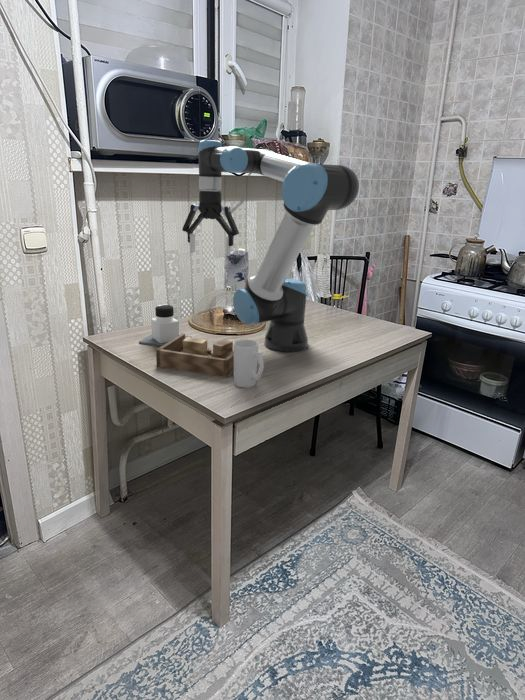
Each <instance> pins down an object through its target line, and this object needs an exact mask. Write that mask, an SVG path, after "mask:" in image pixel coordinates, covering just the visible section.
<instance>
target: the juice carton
mask: <svg viewBox="0 0 525 700" xmlns="http://www.w3.org/2000/svg"><path fill="white" fill-rule="evenodd" d="M224 255H225V256H224V274H223V276H224V281H223V282H224V285H223V286H224V289H225V288H226V287H227V286H230V287H231V290H232V291H237V290H238V289H240V288H245V287H246V285H247V283H248V281H249V251H247V250H246V249H244V248H238V249H237V250H232V249H231V255H229V256H226V253H225V254H224ZM224 289H223V290H224Z"/></svg>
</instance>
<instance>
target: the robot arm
mask: <svg viewBox="0 0 525 700" xmlns="http://www.w3.org/2000/svg"><path fill="white" fill-rule="evenodd" d="M197 155H198V189H200V190H199V192H198V195H199V196H198V202H199V203H198V204H196V203H193V204H190V208H189V209H190V210H189V212H188V214H187V216H186V220H185V221H184V224H183V226H182V232H185V233H187V243H189V252H190V253H191V254H193V253H196V233H195V232H194V231H195V230H196V229H197V227H198V226H199V225H200V224H201V222H202V221H203V220H204V219H205V220H207V219H208V220H209V219H210V220H216V221H217V223H219V224H220V226H221V227H222V229H223V230H224V231H225V233H226V234H227V236H226V237H225V254H226V256H229V255H231V250H232V247H233V246H234V237H235V236H237V235H239V234H240V232H239V229H238V227H237V225H236V222H235V220H234V217H233V214H232V213H231V206H229V205H228V206H222V192H221V190H222V175H223V174H222V173H231V174H232V173H234V174H238V173H239V174H240V173H241V174H255V175H256V174H258V175H261V176H265V177H267V178H271V179H273V180H277V181H279V182H283V183H282V186H281V190H282V191H283V192H282V193H281V196H282V201H283V204H282V205H283V209H284V215H283V217H282V219H281V221H280V223H279V226H278V228H277V229H276V231H275V234H274V236H273V239H272V240H271V242H270V245H269V247H268V250H267V252H266V254H265V255H264V258H263V260H262V263H261V265H260V267H259V269H258V271H257V273H256V274H253V275H252V276H250V277H249V278H248V283H247V285H246V287H245V288H240V289H238V290H237V291H236V292H235V293H234V297H233V306H234V310H235V313H236V315H237V316H236V317H237V318H238V319H239V321H240V322H241V323H242V324H244V325H248V326H249V325H258V324H261V323H265V322H269V321H270V322H269V326H268V328H267V331H266V333H265V336H264V346H265V347H267V348H268V349H271V350H274V351H279V352H287V353H289V352H291V353H292V352H299V351H300V352H301V351H303V350H305V349H307V348H308V345H309V339H308V334H307V332H306V327H305V317H306V315H305V314H306V305H307V295H308V294H307V285H306V283H305V282H303V281H301V280H299V279H294V278H287V277H288V276H289V274H290V272H291V270H292V269H293V266H294V264H295V263H296V260H297V259H298V256H299V255H300V252H301V250H302V248H303V247H304V245H305V244H306V241H307V239H308V237H309V235H310V234H311V231H312V229H313V228H314V227H315V226H319V225H320V224H321V223H322V222H323V220H324V218H325V217H326V215H327V212H328V211H339V210H342V209H346V208H347V207H349V206H350V205H351V204H353V203H354V201H355V200H356V198H357V197H358V193H359V191H360V190H359V188H360V182H359V179H358V176H357V174H356V172H355V171H354V170H352V169H351V168H350V167H348V166H345V165H341V164H323V163H321V164H319V163H316V162H308V161H305V160H301V159H298V158H293V157H290V156H286V155H282V154H280V153H276V152H274V151H273V150H270V149H266V148H262V149H260V148H258V149H257V148H250V147H249V148H247V147H246V148H245V147H239V146H235V145H229V146H222V142H221V140H212V139H209V140H208V139H203V140H200V141H199V143H198V153H197ZM198 211H199V214H198V215H197V217H196V219H195V220H194V221H193V219H194V217H195V215H196V214H197V212H198ZM222 212H223V213H224V215H225V217H226V220H227V222H226V220H225V219H224V216H223V215H222V214H221V213H222ZM192 222H193V223H192Z"/></svg>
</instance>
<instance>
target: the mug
mask: <svg viewBox="0 0 525 700" xmlns="http://www.w3.org/2000/svg"><path fill="white" fill-rule="evenodd" d="M233 350H234V371H233V383H234V385H235V386H237V387H238V388H243V389H244V388H251V387H252V388H253V387H254V386H255V385H256V384H257V381H258V380H260V379H261V376H262V374H263V371H264V359H263V356H262V352H261V351H259V343H258V341H256V340H254V339H252V340H251V339H237V340H236V341H235V340H234V341H233ZM258 363H259V367H258ZM258 368H259V369H258ZM257 371H258V372H257Z"/></svg>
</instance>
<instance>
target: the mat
mask: <svg viewBox="0 0 525 700" xmlns="http://www.w3.org/2000/svg"><path fill="white" fill-rule="evenodd" d="M187 337H190V338H193V337H192V336H188V335H185V339H186V338H187ZM166 343H168V342H166ZM166 343H159V342H158V341H156V340H155V339H154V338H152V333H151V334H150V335H148V336H147V337H145V338H143V339H141V340H139V341H138V344H142V345H147V346H154V347H159V348H160V347H161V346H163V345H165V344H166Z"/></svg>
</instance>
